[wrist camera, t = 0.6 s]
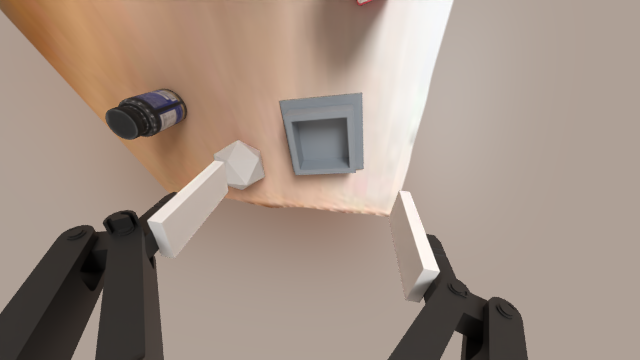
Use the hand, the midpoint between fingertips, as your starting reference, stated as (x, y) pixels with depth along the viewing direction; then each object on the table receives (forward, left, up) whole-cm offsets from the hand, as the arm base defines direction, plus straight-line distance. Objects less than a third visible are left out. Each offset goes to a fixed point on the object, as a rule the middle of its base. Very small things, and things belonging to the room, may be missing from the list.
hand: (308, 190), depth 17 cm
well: (+5, -2, -26) cm, 26 cm away
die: (+9, -18, -26) cm, 33 cm away
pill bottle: (-3, -30, -26) cm, 40 cm away
